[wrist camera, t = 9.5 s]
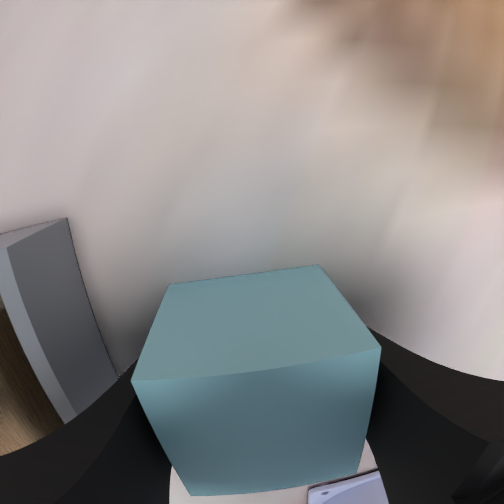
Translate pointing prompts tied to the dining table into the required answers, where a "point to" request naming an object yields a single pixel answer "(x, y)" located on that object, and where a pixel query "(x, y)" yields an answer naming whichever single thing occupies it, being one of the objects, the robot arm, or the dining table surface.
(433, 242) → the dining table surface
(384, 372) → the robot arm
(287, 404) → the pale teal cube
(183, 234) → the dining table surface
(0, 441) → the wooden block
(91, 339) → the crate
